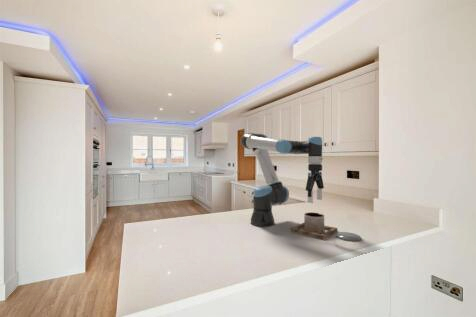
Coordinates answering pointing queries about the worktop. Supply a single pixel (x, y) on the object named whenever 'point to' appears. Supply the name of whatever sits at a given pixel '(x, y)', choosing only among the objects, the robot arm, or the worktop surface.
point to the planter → (314, 222)
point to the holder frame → (321, 236)
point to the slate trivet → (348, 236)
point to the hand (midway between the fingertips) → (315, 201)
